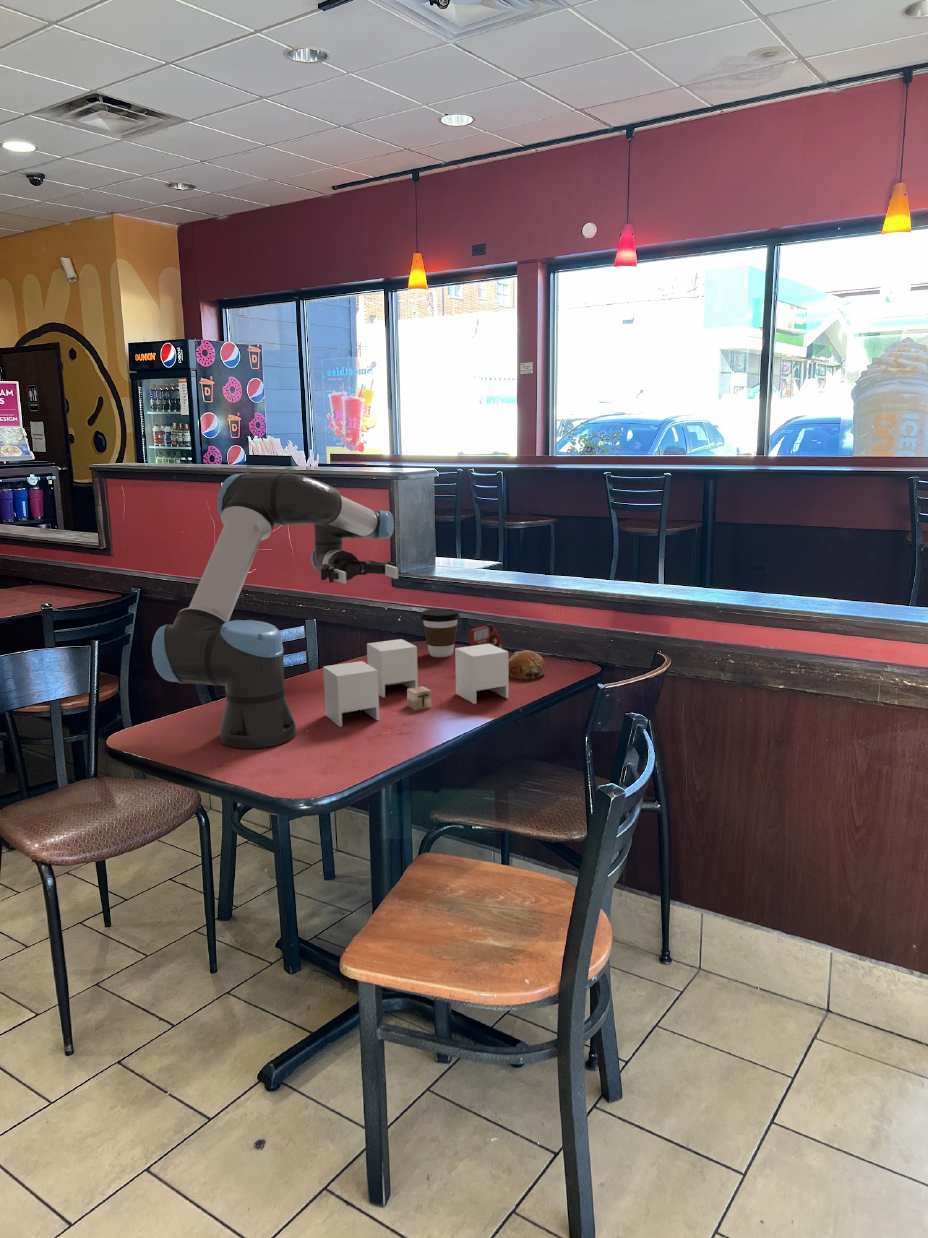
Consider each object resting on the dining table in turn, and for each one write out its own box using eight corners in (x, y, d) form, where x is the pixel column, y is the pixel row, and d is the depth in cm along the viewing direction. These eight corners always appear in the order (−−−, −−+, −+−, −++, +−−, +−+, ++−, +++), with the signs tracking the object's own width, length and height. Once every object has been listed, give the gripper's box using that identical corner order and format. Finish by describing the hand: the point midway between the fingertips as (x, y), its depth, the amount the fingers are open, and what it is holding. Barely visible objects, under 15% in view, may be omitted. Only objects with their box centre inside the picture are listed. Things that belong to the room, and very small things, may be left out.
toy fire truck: (510, 661, 237) (510, 623, 235) (481, 671, 228) (481, 631, 226) (490, 657, 242) (490, 620, 239) (461, 666, 232) (460, 628, 230)
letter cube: (415, 710, 196) (415, 693, 195) (407, 706, 200) (407, 688, 199) (431, 707, 198) (431, 690, 197) (423, 703, 202) (423, 686, 201)
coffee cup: (443, 647, 253) (443, 606, 250) (468, 654, 244) (468, 612, 242) (413, 654, 246) (412, 611, 243) (437, 661, 237) (436, 617, 235)
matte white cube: (339, 726, 186) (337, 676, 184) (325, 715, 194) (323, 666, 191) (379, 720, 190) (377, 670, 188) (364, 708, 198) (362, 661, 195)
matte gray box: (474, 703, 200) (473, 656, 198) (455, 693, 208) (455, 648, 206) (508, 698, 204) (508, 651, 202) (489, 688, 212) (489, 643, 210)
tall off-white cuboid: (382, 697, 206) (381, 651, 204) (368, 687, 214) (366, 643, 212) (418, 691, 210) (416, 646, 208) (402, 682, 218) (401, 639, 216)
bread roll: (545, 685, 227) (545, 654, 229) (545, 678, 217) (545, 646, 219) (506, 684, 228) (507, 654, 230) (504, 678, 218) (505, 646, 220)
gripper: (385, 574, 242) (417, 586, 223) (296, 582, 230) (322, 595, 212) (384, 547, 240) (417, 556, 222) (294, 554, 229) (321, 564, 210)
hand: (371, 575), depth 217 cm, fingers open, 13 cm apart
